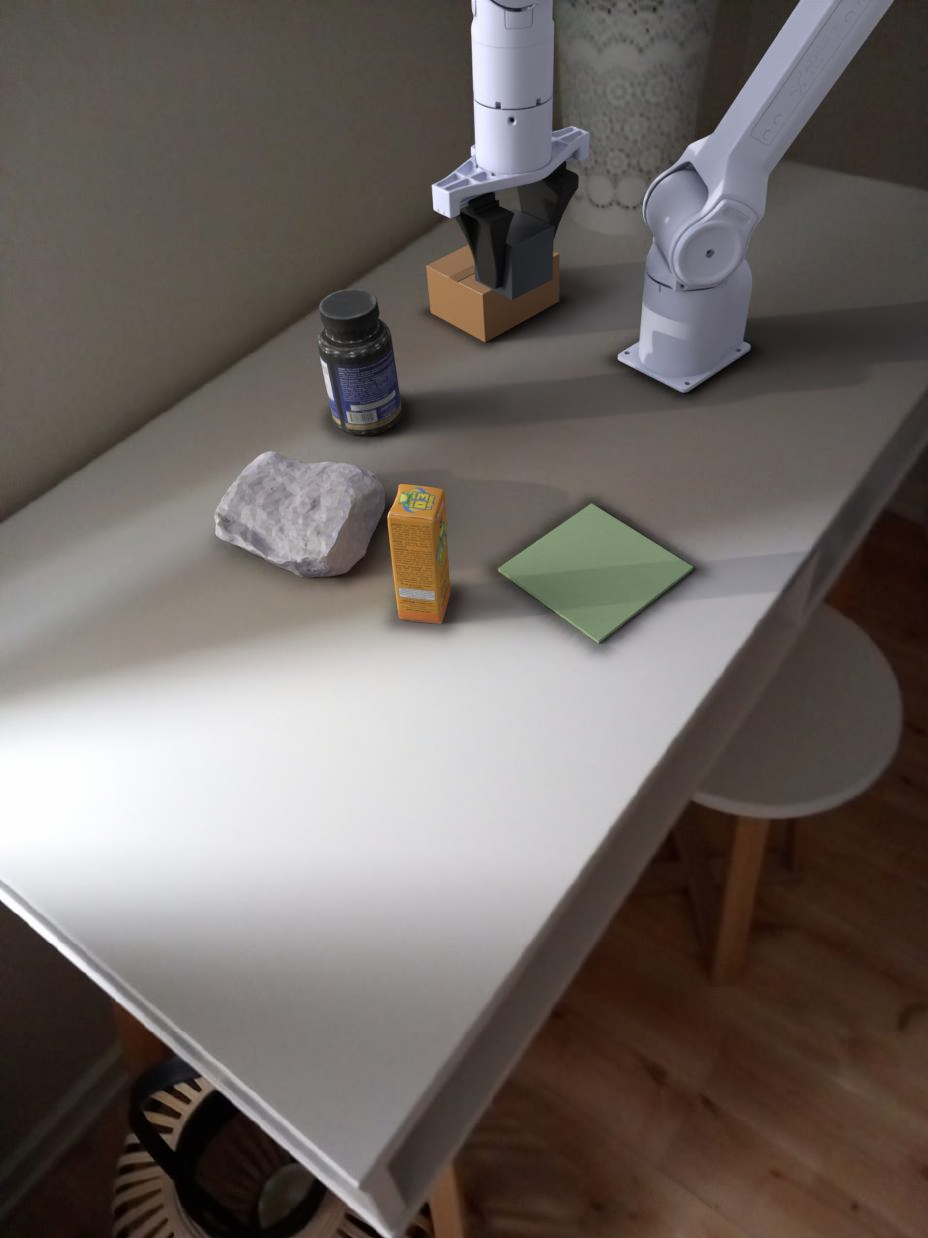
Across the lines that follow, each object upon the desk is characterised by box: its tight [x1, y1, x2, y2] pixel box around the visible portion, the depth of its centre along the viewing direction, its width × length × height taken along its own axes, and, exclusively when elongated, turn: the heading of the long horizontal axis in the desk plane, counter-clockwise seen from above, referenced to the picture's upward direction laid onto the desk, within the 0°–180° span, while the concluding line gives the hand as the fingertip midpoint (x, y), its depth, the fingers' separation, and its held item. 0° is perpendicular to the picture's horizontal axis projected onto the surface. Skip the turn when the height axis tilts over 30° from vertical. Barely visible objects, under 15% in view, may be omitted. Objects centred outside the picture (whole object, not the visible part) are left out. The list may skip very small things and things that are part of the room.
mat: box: [497, 502, 694, 644], centre depth 71 cm, size 10×10×1 cm
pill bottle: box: [316, 288, 402, 437], centre depth 81 cm, size 6×6×11 cm
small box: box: [474, 208, 555, 300], centre depth 79 cm, size 5×5×5 cm
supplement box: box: [387, 483, 451, 624], centre depth 66 cm, size 3×3×10 cm
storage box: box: [425, 244, 560, 343], centre depth 94 cm, size 10×8×5 cm
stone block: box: [213, 450, 386, 579], centre depth 75 cm, size 12×5×10 cm
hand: (514, 271), depth 80 cm, fingers closed on small box, 4 cm apart
